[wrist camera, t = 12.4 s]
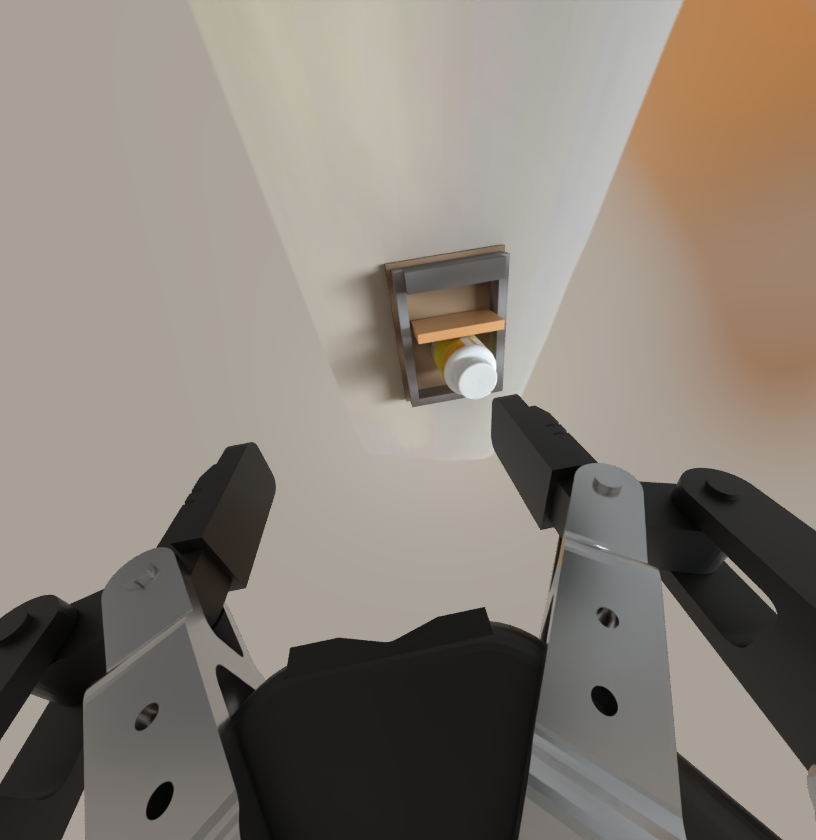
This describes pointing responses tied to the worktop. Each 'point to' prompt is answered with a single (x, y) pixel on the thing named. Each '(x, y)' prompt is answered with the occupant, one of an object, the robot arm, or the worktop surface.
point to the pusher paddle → (456, 325)
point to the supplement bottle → (466, 365)
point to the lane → (445, 311)
